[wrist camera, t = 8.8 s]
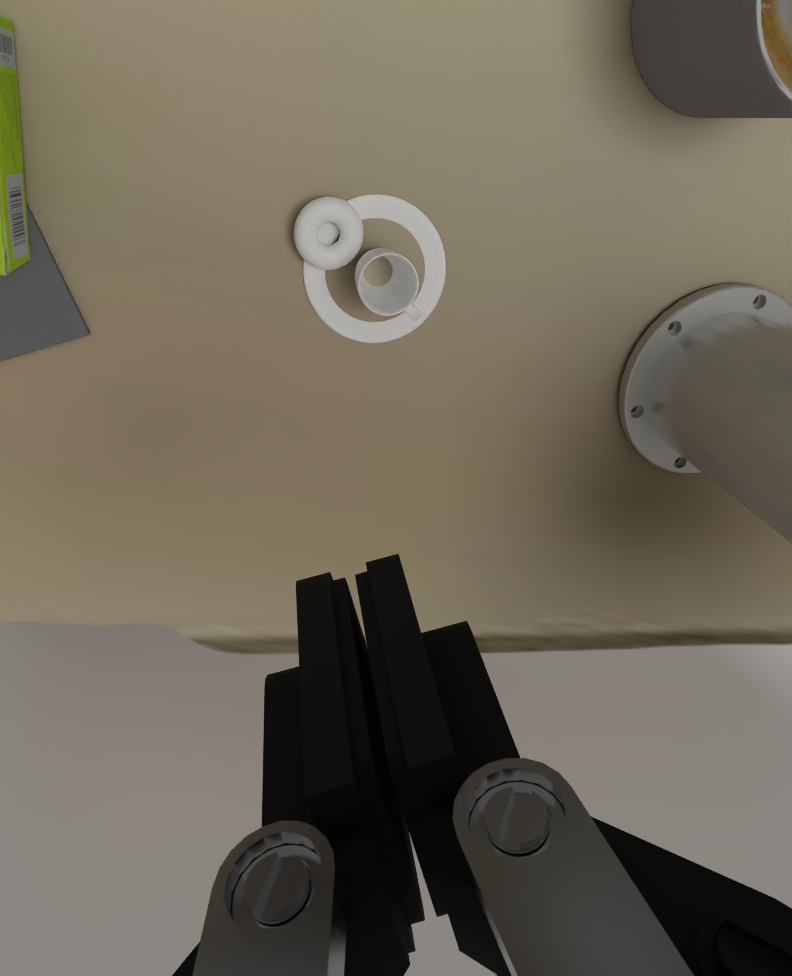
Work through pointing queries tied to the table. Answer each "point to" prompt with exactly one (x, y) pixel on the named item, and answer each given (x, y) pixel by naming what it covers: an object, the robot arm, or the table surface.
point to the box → (11, 161)
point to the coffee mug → (716, 56)
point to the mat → (37, 302)
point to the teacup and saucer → (396, 296)
